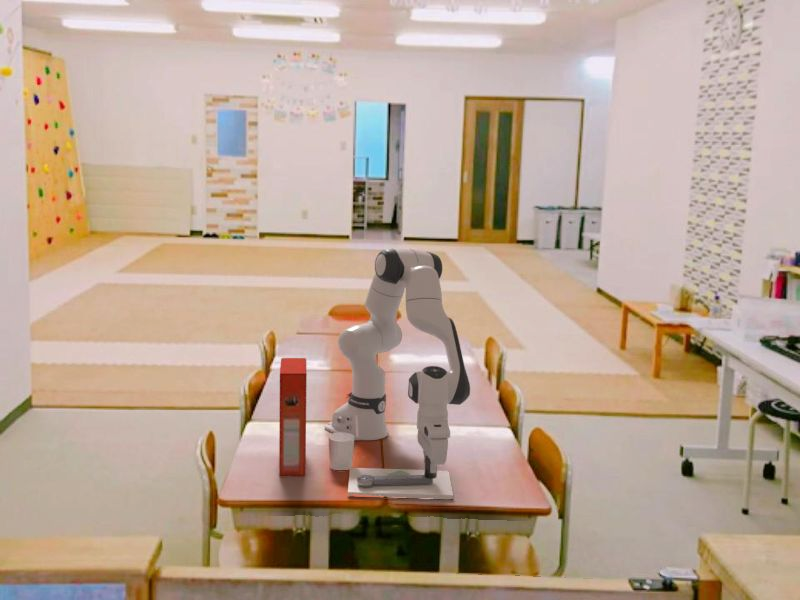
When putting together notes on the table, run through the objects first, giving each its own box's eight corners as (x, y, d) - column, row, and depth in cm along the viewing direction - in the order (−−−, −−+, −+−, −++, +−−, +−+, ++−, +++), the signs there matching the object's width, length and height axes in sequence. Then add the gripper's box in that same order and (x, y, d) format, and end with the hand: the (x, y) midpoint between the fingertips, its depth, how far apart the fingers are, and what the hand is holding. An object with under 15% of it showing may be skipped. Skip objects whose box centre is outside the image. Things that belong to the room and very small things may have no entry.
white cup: (334, 473, 263) (334, 442, 261) (324, 464, 270) (324, 434, 268) (357, 470, 266) (358, 439, 264) (347, 461, 273) (348, 430, 271)
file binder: (278, 476, 259) (279, 373, 253) (279, 455, 276) (281, 357, 270) (305, 476, 260) (307, 373, 254) (305, 455, 277) (307, 358, 271)
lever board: (347, 497, 247) (347, 491, 246) (349, 472, 264) (350, 467, 264) (452, 500, 248) (453, 494, 247) (448, 475, 265) (448, 470, 265)
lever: (358, 487, 249) (359, 461, 247) (356, 480, 253) (357, 455, 252) (437, 485, 252) (439, 460, 251) (434, 478, 257) (435, 453, 256)
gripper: (413, 412, 261) (411, 455, 264) (430, 435, 241) (428, 481, 244) (433, 411, 262) (431, 454, 265) (452, 434, 243) (449, 480, 245)
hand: (430, 468), depth 254 cm, fingers open, 5 cm apart
